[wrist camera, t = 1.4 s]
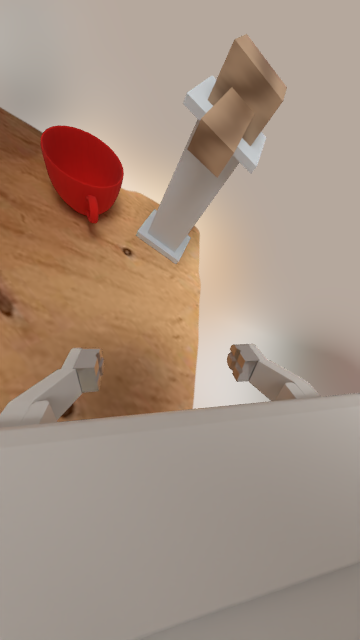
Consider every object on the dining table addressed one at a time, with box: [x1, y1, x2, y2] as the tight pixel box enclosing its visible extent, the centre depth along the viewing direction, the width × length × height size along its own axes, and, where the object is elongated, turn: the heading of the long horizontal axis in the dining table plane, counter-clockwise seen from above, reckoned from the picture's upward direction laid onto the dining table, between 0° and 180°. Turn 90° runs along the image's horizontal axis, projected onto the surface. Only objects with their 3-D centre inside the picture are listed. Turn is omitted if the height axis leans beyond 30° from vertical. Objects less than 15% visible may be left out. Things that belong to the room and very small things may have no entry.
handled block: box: [187, 34, 287, 178], centre depth 21 cm, size 8×22×5 cm, turn 157°
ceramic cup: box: [41, 126, 124, 223], centre depth 35 cm, size 13×17×10 cm
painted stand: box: [136, 76, 266, 264], centre depth 37 cm, size 12×12×26 cm
